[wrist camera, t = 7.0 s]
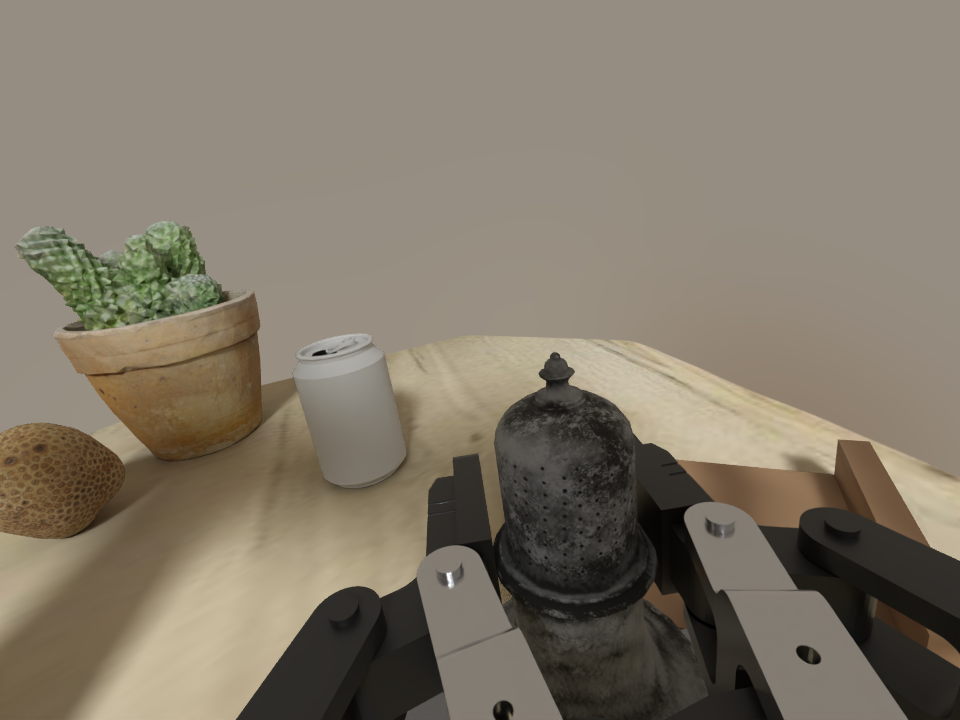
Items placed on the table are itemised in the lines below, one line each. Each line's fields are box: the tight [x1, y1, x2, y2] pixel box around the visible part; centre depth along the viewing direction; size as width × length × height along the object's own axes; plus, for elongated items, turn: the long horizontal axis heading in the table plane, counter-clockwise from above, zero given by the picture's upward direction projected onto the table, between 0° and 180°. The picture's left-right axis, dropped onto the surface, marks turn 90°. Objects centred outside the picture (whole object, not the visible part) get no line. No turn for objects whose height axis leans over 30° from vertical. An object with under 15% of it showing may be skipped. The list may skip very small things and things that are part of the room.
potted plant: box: [15, 221, 262, 461], centre depth 50 cm, size 18×19×25 cm
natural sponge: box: [0, 423, 125, 539], centre depth 37 cm, size 9×9×10 cm
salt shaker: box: [493, 352, 709, 720], centre depth 11 cm, size 6×6×12 cm
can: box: [292, 334, 407, 488], centre depth 39 cm, size 8×8×12 cm
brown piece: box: [643, 440, 960, 668], centre depth 26 cm, size 16×14×4 cm
